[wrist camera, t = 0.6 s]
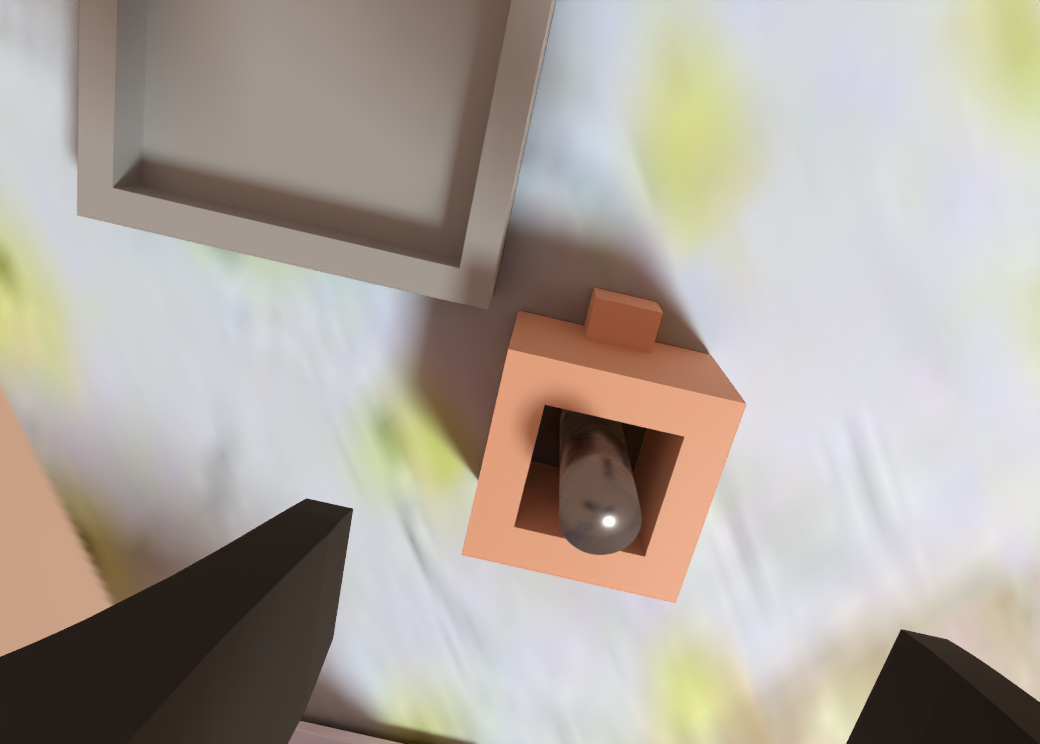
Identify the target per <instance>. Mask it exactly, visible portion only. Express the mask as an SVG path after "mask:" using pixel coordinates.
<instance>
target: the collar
mask: <svg viewBox="0 0 1040 744" xmlns="http://www.w3.org/2000/svg"><path fill="white" fill-rule="evenodd" d="M662 316H663V311H662V310H661V308H660V307H659V305H658V303H657V302H655V301H651V300H646V299H642V298H638V297H633V296H629V295H625V294H620V293H616V292H612V291H607V290H603V289H599V288H594V289H593V293H592V297H591V300H590V304H589V308H588V312H587V316H586V320H585V323H584V325H580V324H576V323H571V322H567V321H563V320H558V319H554V318H550V317H545V316H541V315H537V314H532V313H528V312H524V311H519V310H518V314H517V318H516V322H515V325H514V329H513V333H512V336H511V340H510V344H509V348H508V352H507V356H506V361H505V365H504V369H503V374H502V378H501V383H500V387H499V392H498V396H497V400H496V405H495V409H494V414H493V418H492V423H491V427H490V431H489V436H488V440H487V445H486V449H485V454H484V458H483V462H482V467H481V471H480V476H479V480H478V485H477V489H476V493H475V498H474V502H473V507H472V511H471V516H470V520H469V524H468V529H467V533H466V538H465V542H464V547H463V551H462V555H465V556H469V557H474V558H478V559H482V560H487V561H491V562H496V563H500V564H505V565H509V566H514V567H518V568H522V569H527V570H531V571H536V572H540V573H545V574H549V575H553V576H558V577H562V578H567V579H571V580H576V581H580V582H584V583H589V584H593V585H598V586H602V587H607V588H611V589H615V590H620V591H624V592H629V593H633V594H638V595H642V596H646V597H651V598H655V599H660V600H664V601H669V602H673V603H676V601H677V598H678V595H679V592H680V589H681V586H682V584H683V581H684V578H685V575H686V572H687V570H688V567H689V564H690V561H691V558H692V556H693V553H694V550H695V547H696V544H697V542H698V539H699V536H700V533H701V530H702V527H703V525H704V522H705V519H706V516H707V513H708V511H709V508H710V505H711V502H712V499H713V497H714V494H715V491H716V488H717V485H718V482H719V480H720V477H721V474H722V471H723V468H724V466H725V463H726V460H727V457H728V454H729V452H730V449H731V446H732V443H733V440H734V438H735V435H736V432H737V429H738V426H739V423H740V421H741V418H742V415H743V412H744V409H745V407H746V403H745V401H744V400H743V398H742V397H741V396H740V394H739V393H738V392H737V390H736V389H735V387H734V386H733V385H732V383H731V382H730V381H729V379H728V378H727V377H726V375H725V374H724V372H723V371H722V370H721V368H720V367H719V366H718V364H717V363H716V361H715V360H714V359H713V357H712V356H711V355H710V354H705V353H701V352H697V351H692V350H688V349H684V348H679V347H675V346H671V345H666V344H662V343H658V342H655V340H656V336H657V333H658V329H659V326H660V323H661V319H662ZM545 405H549V406H553V407H557V408H562V409H566V410H570V411H575V412H579V413H584V414H588V415H592V416H597V417H601V418H605V419H610V420H614V421H618V422H623V423H627V424H632V425H636V426H640V427H645V428H647V429H646V433H645V436H644V439H643V442H642V446H641V449H640V452H639V455H638V459H637V462H636V465H635V468H634V472H633V477H634V482H635V486H636V491H637V495H638V500H639V504H640V509H641V514H642V524H641V528H640V531H639V533H638V535H637V537H636V538H635V539H634V541H633V542H632V543H631V544H630V545H628V546H627V547H626V548H624V549H622V550H620V551H618V552H616V553H612V554H607V555H594V554H589V553H585V552H583V551H580V550H579V549H577V548H575V547H574V546H573V545H571V544H570V543H569V542H568V541H567V539H566V538H565V536H564V535H563V533H562V530H561V527H560V522H559V478H560V467H556V466H552V465H548V464H543V463H539V462H534V461H531V457H532V453H533V449H534V445H535V441H536V438H537V434H538V430H539V426H540V422H541V418H542V414H543V410H544V406H545Z"/></svg>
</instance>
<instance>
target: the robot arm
mask: <svg viewBox="0 0 1040 744" xmlns="http://www.w3.org/2000/svg"><path fill="white" fill-rule="evenodd" d="M352 513H353V509H352V508H347V507H343V506H338V505H334V504H329V503H325V502H320V501H316V500H311V499H307V498H306V499H305V500H303V501H301V502H299V503H297V504H296V505H294V506H292V507H291V508H289V509H287V510H285V511H284V512H282V513H280V514H279V515H277V516H275V517H273V518H272V519H270V520H268V521H267V522H265V523H263V524H262V525H260V526H258V527H256V528H255V529H253V530H251V531H250V532H248V533H246V534H245V535H243V536H241V537H240V538H238V539H236V540H234V541H233V542H231V543H229V544H228V545H226V546H224V547H222V548H221V549H219V550H217V551H215V552H214V553H212V554H210V555H208V556H206V557H205V558H203V559H201V560H199V561H198V562H196V563H194V564H192V565H190V566H189V567H187V568H185V569H183V570H182V571H180V572H178V573H176V574H174V575H172V576H171V577H169V578H167V579H165V580H163V581H161V582H159V583H157V584H155V585H153V586H151V587H149V588H147V589H145V590H143V591H141V592H139V593H137V594H135V595H133V596H131V597H129V598H127V599H125V600H123V601H121V602H119V603H117V604H115V605H113V606H111V607H109V608H107V609H105V610H104V611H101V612H100V613H98V614H96V615H94V616H92V617H90V618H88V619H86V620H83V621H81V622H79V623H77V624H75V625H73V626H70V627H68V628H66V629H64V630H62V631H59V632H57V633H55V634H53V635H50V636H48V637H46V638H44V639H42V640H40V641H37V642H35V643H32V644H30V645H28V646H25V647H23V648H21V649H18V650H16V651H13V652H11V653H9V654H6V655H4V656H1V657H0V744H403V743H398V742H394V741H389V740H385V739H380V738H376V737H371V736H367V735H362V734H358V733H353V732H349V731H344V730H340V729H335V728H331V727H326V726H322V725H317V724H313V723H308V722H304V721H300V720H301V718H302V716H303V714H304V711H305V709H306V706H307V704H308V701H309V699H310V696H311V694H312V691H313V689H314V686H315V684H316V681H317V679H318V676H319V674H320V671H321V668H322V666H323V663H324V661H325V658H326V655H327V653H328V650H329V648H330V645H331V642H332V640H333V635H334V629H335V622H336V616H337V609H338V603H339V596H340V590H341V584H342V577H343V571H344V564H345V558H346V551H347V545H348V538H349V532H350V526H351V519H352ZM846 744H1040V702H1039V701H1037V700H1036V699H1034V698H1033V697H1032V696H1030V695H1029V694H1028V693H1026V692H1025V691H1023V690H1022V689H1021V688H1019V687H1018V686H1017V685H1015V684H1014V683H1012V682H1011V681H1010V680H1008V679H1007V678H1005V677H1004V676H1003V675H1001V674H1000V673H998V672H997V671H995V670H994V669H993V668H991V667H990V666H988V665H987V664H985V663H984V662H982V661H981V660H979V659H978V658H976V657H975V656H973V655H972V654H970V653H969V652H967V651H966V650H964V649H962V648H961V647H959V646H957V645H956V644H954V643H952V642H951V641H949V640H947V639H943V638H938V637H934V636H929V635H925V634H920V633H916V632H911V631H907V630H902V629H901V631H900V633H899V635H898V637H897V639H896V641H895V643H894V645H893V647H892V649H891V651H890V653H889V656H888V658H887V660H886V662H885V664H884V666H883V668H882V670H881V672H880V674H879V676H878V679H877V681H876V683H875V685H874V687H873V689H872V691H871V693H870V695H869V697H868V699H867V701H866V704H865V706H864V708H863V710H862V712H861V714H860V716H859V718H858V720H857V722H856V724H855V727H854V729H853V731H852V733H851V735H850V737H849V739H848V741H847V743H846Z"/></svg>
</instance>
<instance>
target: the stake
mask: <svg viewBox="0 0 1040 744" xmlns="http://www.w3.org/2000/svg"><path fill="white" fill-rule="evenodd" d="M559 522H560V527H561V530H562V533H563V535H564V536H565V538H566V539H567V541H568V542H569V543H570V544H571V545H573V546H574V547H575V548H577V549H579V550H580V551H583V552H585V553H589V554H594V555H607V554H612V553H616V552H618V551H620V550H622V549H624V548H626V547H627V546H628V545H630V544H631V543H632V542H633V541H634V539H635V538H636V537H637V535H638V533H639V531H640V528H641V524H642V514H641V509H640V504H639V500H638V495H637V491H636V486H635V482H634V477H633V473H632V468H631V464H630V459H629V455H628V450H627V445H626V441H625V436H624V432H623V427H622V423H621V422H618V421H614V420H610V419H605V418H601V417H597V416H592V415H588V414H584V413H579V412H575V411H570V410H566V409H563V410H562V412H561V416H560V478H559Z"/></svg>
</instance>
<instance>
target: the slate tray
mask: <svg viewBox="0 0 1040 744" xmlns="http://www.w3.org/2000/svg"><path fill="white" fill-rule="evenodd" d="M555 3H556V0H79V69H78V186H77V215H78V216H83V217H87V218H91V219H96V220H100V221H104V222H109V223H113V224H117V225H122V226H126V227H130V228H135V229H139V230H143V231H148V232H152V233H156V234H161V235H165V236H169V237H174V238H178V239H182V240H187V241H191V242H195V243H200V244H204V245H208V246H213V247H217V248H221V249H226V250H230V251H234V252H238V253H243V254H247V255H251V256H256V257H260V258H264V259H269V260H273V261H277V262H282V263H286V264H290V265H295V266H299V267H303V268H308V269H312V270H316V271H321V272H325V273H329V274H334V275H338V276H342V277H347V278H351V279H355V280H360V281H364V282H368V283H373V284H377V285H381V286H386V287H390V288H394V289H399V290H403V291H407V292H412V293H416V294H420V295H425V296H429V297H433V298H438V299H442V300H446V301H451V302H455V303H459V304H464V305H468V306H472V307H477V308H481V309H485V310H487V308H488V306H489V304H490V302H491V300H492V298H493V295H494V290H495V285H496V281H497V276H498V271H499V266H500V262H501V257H502V252H503V248H504V243H505V238H506V234H507V229H508V224H509V219H510V215H511V210H512V205H513V201H514V196H515V191H516V187H517V182H518V177H519V172H520V168H521V163H522V158H523V154H524V149H525V144H526V140H527V135H528V130H529V125H530V121H531V116H532V111H533V107H534V102H535V97H536V93H537V88H538V83H539V78H540V74H541V69H542V64H543V60H544V55H545V50H546V46H547V41H548V36H549V31H550V27H551V22H552V17H553V13H554V8H555Z"/></svg>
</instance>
